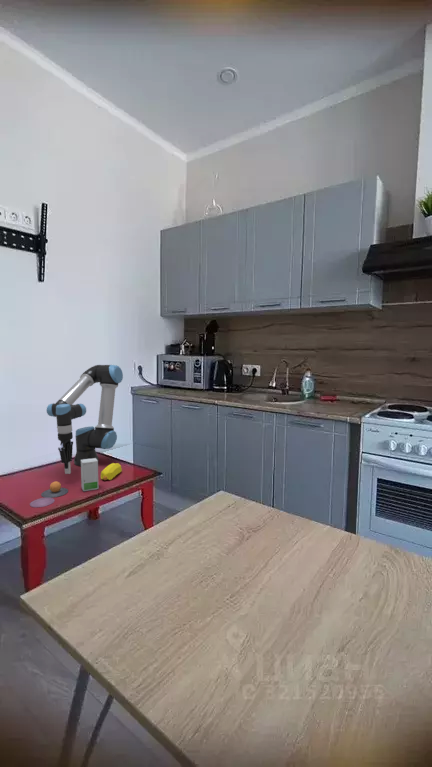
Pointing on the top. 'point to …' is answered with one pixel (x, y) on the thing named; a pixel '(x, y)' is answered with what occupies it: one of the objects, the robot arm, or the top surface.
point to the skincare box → (89, 474)
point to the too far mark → (42, 502)
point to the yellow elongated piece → (111, 471)
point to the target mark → (54, 493)
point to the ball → (55, 486)
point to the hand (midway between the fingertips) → (67, 473)
